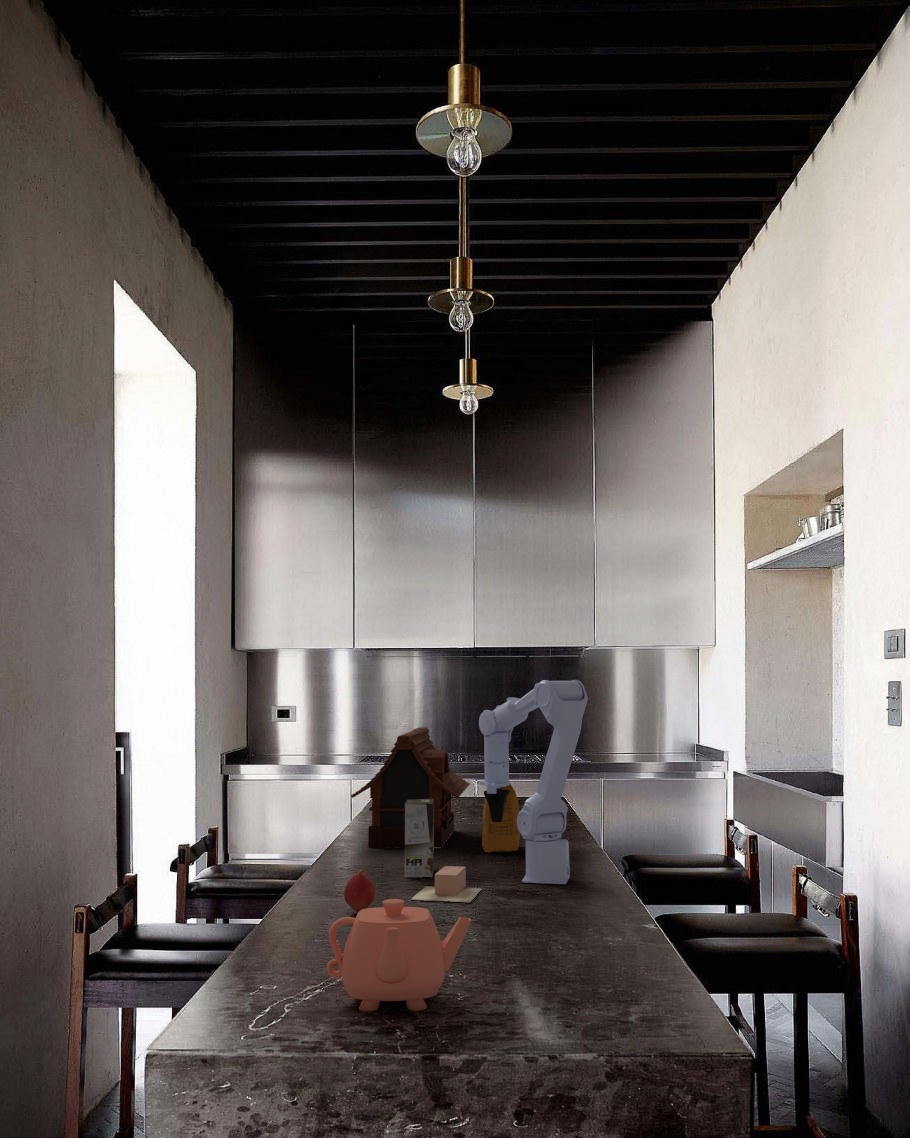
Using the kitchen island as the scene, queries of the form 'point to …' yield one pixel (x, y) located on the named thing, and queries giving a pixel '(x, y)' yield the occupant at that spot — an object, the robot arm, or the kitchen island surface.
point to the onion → (359, 892)
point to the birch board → (429, 895)
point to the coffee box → (419, 838)
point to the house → (412, 789)
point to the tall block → (450, 880)
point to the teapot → (394, 955)
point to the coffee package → (501, 826)
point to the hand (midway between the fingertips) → (497, 821)
